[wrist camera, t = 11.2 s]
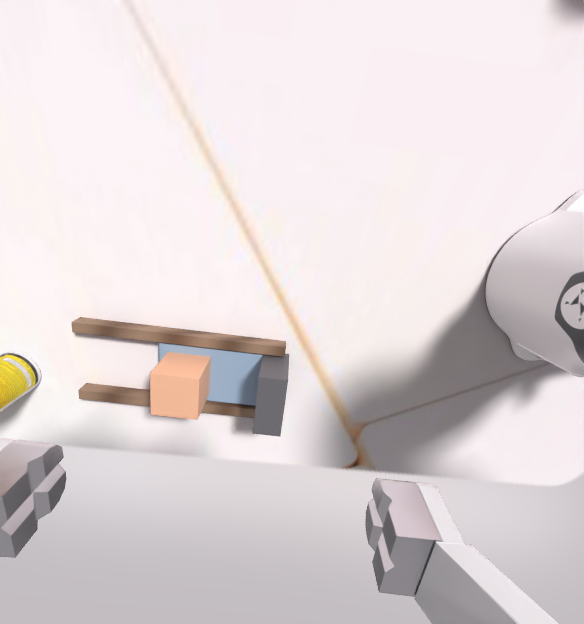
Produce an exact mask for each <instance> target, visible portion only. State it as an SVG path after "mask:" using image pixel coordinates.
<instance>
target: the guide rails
mask: <svg viewBox="0 0 584 624" xmlns="http://www.w3.org/2000/svg"><path fill="white" fill-rule="evenodd" d="M72 331H73V332H76V333H84V334H93V335H102V336H110V337H119V338H127V339H136V340H145V341H153V342H162V343H170V344H179V345H188V346H196V347H205V348H214V349H222V350H231V351H239V352H248V353H257V354H265V355H274V356H282V357H284V356H285V349H286V341H278V340H269V339H261V338H252V337H244V336H235V335H227V334H218V333H210V332H201V331H193V330H184V329H176V328H167V327H159V326H150V325H142V324H133V323H125V322H116V321H108V320H99V319H91V318H82V317H80V318H78V319H76V320H75V321H73V322H72ZM79 399H86V400H96V401H105V402H114V403H123V404H132V405H141V406H150V407H151V400H150V390H144V389H135V388H126V387H117V386H108V385H99V384H90V383H86V384H85V385H84V386H83V387H82V388H80V389H79ZM255 407H256V406H253V405H244V404H235V403H226V402H217V401H208V400H206V402H205V404H204V407H203V409H202V411H201V412H204V413H214V414H223V415H232V416H241V417H250V418H254V417H255Z"/></svg>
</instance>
